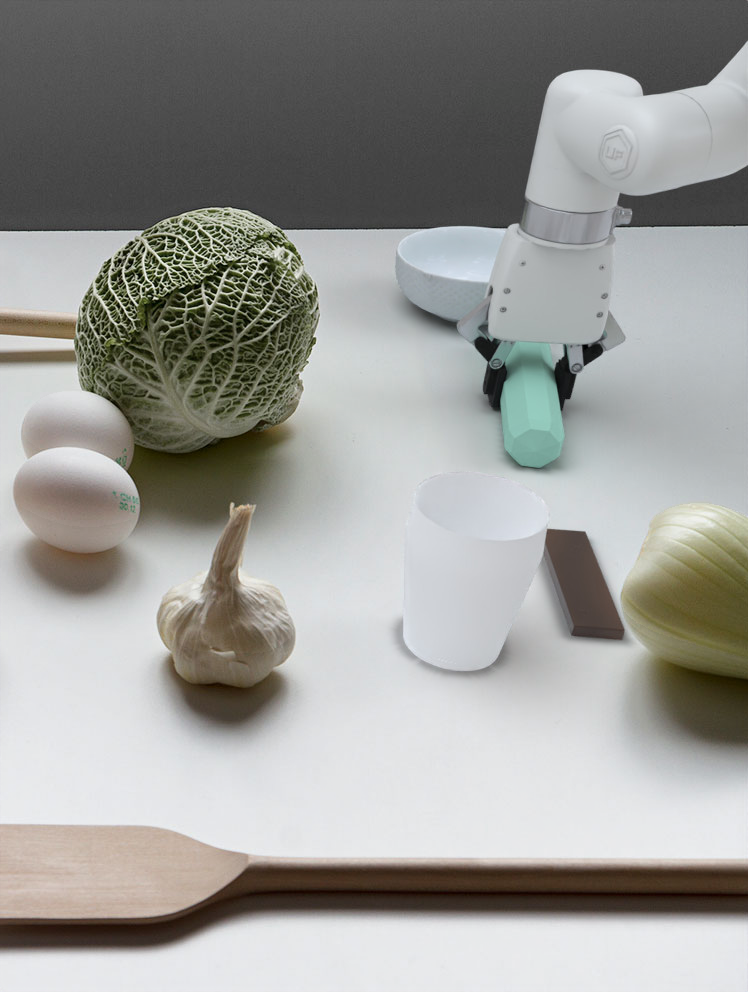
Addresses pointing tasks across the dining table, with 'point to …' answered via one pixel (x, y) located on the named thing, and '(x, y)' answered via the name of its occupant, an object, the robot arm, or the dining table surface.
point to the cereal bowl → (447, 268)
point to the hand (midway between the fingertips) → (524, 401)
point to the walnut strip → (581, 585)
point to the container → (531, 406)
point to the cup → (468, 566)
